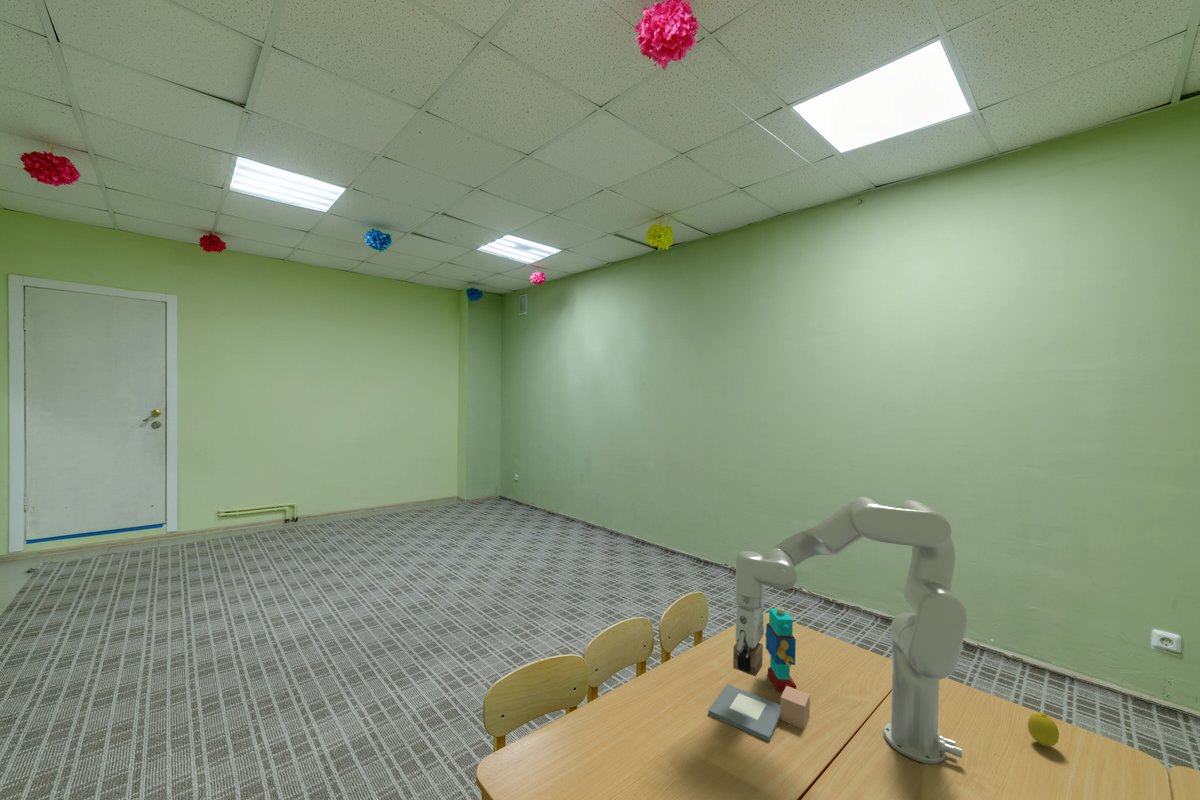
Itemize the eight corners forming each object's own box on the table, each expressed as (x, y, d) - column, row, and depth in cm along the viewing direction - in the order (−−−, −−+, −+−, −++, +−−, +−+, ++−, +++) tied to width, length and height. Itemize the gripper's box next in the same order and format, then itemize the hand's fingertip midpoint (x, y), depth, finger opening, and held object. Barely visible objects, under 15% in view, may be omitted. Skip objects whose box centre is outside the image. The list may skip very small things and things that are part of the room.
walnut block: (762, 665, 124) (762, 644, 124) (755, 676, 119) (756, 654, 119) (740, 658, 128) (741, 636, 128) (733, 668, 123) (733, 646, 123)
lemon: (1048, 756, 109) (1049, 723, 109) (1021, 739, 114) (1022, 708, 114) (1064, 752, 111) (1065, 719, 111) (1037, 735, 116) (1038, 704, 116)
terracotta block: (809, 716, 122) (809, 694, 122) (804, 729, 117) (804, 706, 117) (786, 707, 125) (786, 685, 125) (780, 719, 121) (780, 697, 120)
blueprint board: (784, 710, 124) (784, 706, 124) (769, 742, 112) (769, 737, 112) (727, 687, 133) (727, 683, 133) (708, 714, 122) (708, 709, 122)
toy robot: (798, 695, 130) (800, 609, 130) (777, 695, 130) (778, 608, 130) (783, 671, 142) (784, 591, 141) (763, 670, 142) (765, 591, 141)
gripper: (753, 615, 114) (751, 685, 114) (772, 591, 128) (770, 655, 128) (724, 606, 119) (722, 674, 119) (746, 584, 132) (744, 645, 133)
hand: (747, 663), depth 124 cm, fingers closed on walnut block, 6 cm apart
